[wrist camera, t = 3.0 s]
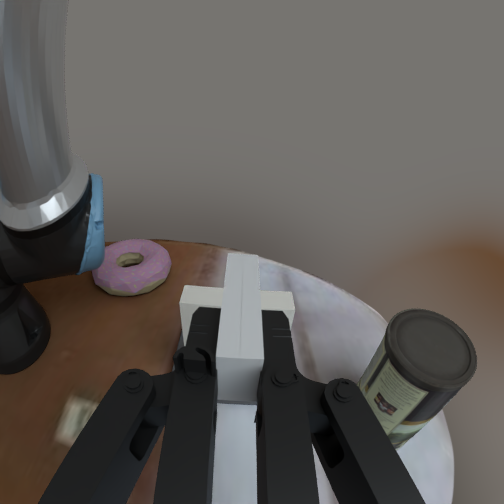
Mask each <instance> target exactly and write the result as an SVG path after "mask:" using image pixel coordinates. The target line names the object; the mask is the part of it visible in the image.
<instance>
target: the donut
mask: <svg viewBox="0 0 504 504" xmlns="http://www.w3.org/2000/svg"><path fill="white" fill-rule="evenodd" d="M133 264H139V265H135V266H130V267H126V268H125V267H124V266H128V265H133ZM170 267H171V260H170V257H169V254H168V251H166V250H165V249H164V248H163V247H162V246H160V245H159V244H157V243H155V242H153V241H150V240H142V239H131V240H124V241H119V242H117V243H114V244H112V245H110V246H107V247H105V259H104V262H103V264H102V265H101V266H100V267H99V268H97V269H95V270H92V275H93V278H94V281H95V284H96V285H98V286H99V287H101V288H102V289H103V290H105V291H106V292H108V293H109V294H111V295H118V296H133V295H138V294H143V293H148V292H150V291H152V290H153V289H154V288H156V287H157V286H158V285H160V284H161V283H163V282H164V281H165V280H166V278H167V275H168V273H169V271H170Z"/></svg>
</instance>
